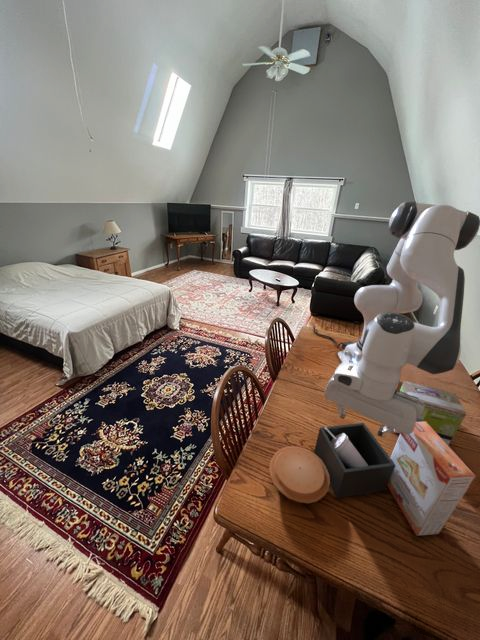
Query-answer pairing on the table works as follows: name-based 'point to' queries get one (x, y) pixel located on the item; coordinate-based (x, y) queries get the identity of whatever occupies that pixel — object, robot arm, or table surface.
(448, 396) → the tea box
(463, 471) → the cracker box
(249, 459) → the table surface
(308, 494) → the pie
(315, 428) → the table surface
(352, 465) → the smoothie
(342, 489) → the trash bin
